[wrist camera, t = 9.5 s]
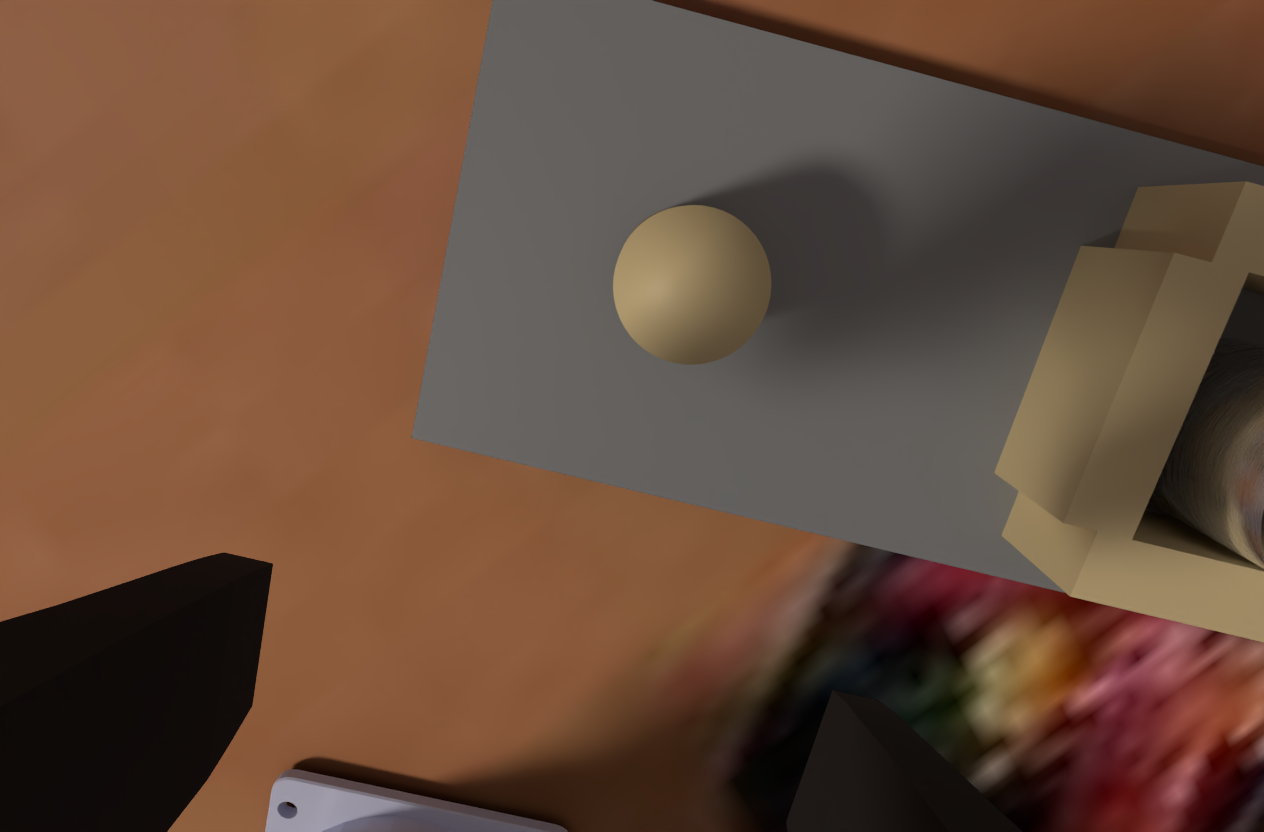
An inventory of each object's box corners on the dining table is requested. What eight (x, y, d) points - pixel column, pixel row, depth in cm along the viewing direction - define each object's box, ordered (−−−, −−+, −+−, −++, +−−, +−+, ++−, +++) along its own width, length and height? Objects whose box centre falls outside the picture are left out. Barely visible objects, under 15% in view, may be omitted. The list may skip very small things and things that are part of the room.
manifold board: (1353, 647, 20) (1524, 751, 16) (423, 426, 19) (367, 481, 15) (1559, 258, 18) (1820, 271, 14) (508, -26, 16) (468, -100, 12)
